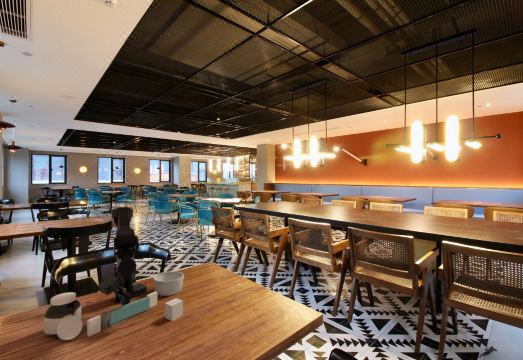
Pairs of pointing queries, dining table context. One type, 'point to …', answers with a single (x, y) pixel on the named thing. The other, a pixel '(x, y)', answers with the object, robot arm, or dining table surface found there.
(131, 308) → the long teal plank
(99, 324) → the door frame
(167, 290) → the ramekin
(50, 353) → the dining table surface
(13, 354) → the dining table surface
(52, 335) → the spread jar
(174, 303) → the block
